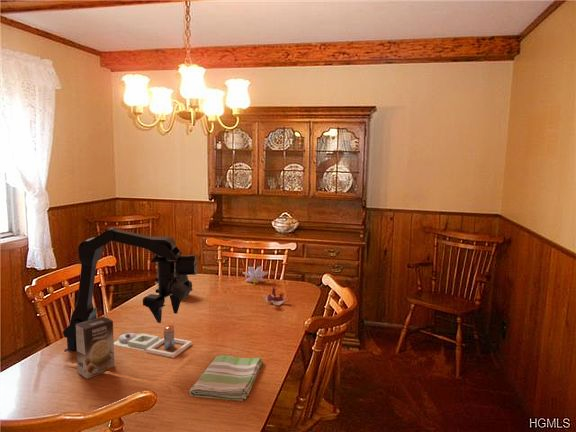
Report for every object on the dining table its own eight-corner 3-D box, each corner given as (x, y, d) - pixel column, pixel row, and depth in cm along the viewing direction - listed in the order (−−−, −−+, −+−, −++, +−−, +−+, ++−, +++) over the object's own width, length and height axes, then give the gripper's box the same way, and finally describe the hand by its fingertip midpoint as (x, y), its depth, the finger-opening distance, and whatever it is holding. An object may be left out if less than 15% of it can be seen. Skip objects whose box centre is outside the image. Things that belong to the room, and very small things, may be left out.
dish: (173, 360, 142) (173, 354, 142) (146, 354, 146) (146, 349, 146) (191, 346, 152) (191, 341, 152) (166, 341, 156) (165, 336, 156)
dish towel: (187, 397, 122) (187, 386, 121) (214, 359, 144) (214, 350, 144) (245, 403, 119) (245, 392, 119) (264, 364, 142) (264, 354, 141)
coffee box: (87, 379, 130) (84, 329, 127) (77, 372, 134) (74, 323, 131) (115, 368, 137) (113, 320, 134) (105, 362, 141) (103, 315, 138)
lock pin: (170, 352, 147) (169, 330, 146) (162, 350, 148) (161, 328, 147) (176, 347, 150) (176, 326, 149) (168, 346, 151) (167, 324, 150)
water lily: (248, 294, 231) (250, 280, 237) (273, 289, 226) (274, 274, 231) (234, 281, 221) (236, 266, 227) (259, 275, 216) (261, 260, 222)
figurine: (284, 310, 189) (285, 295, 188) (259, 308, 191) (259, 294, 190) (289, 299, 204) (289, 285, 203) (265, 297, 206) (265, 284, 205)
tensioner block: (143, 353, 147) (143, 345, 147) (111, 346, 152) (111, 338, 151) (161, 341, 156) (161, 333, 156) (130, 335, 161) (130, 328, 161)
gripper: (169, 284, 134) (170, 332, 136) (201, 270, 151) (202, 312, 154) (140, 280, 138) (142, 326, 140) (175, 266, 155) (176, 307, 158)
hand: (167, 318), depth 148 cm, fingers open, 9 cm apart
